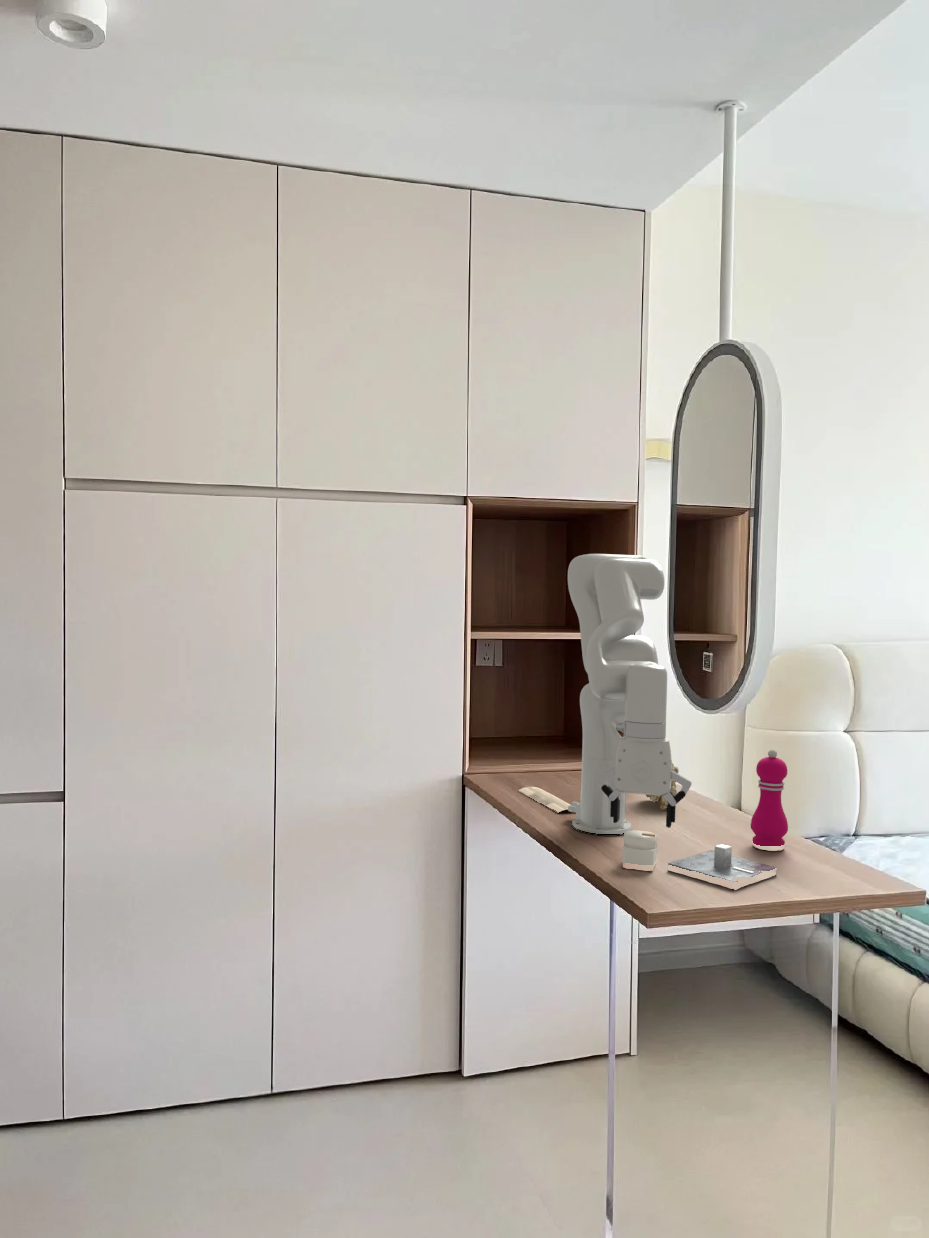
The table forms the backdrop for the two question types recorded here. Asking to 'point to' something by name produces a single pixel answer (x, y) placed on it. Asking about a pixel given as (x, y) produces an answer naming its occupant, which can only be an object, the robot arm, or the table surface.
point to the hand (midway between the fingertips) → (642, 823)
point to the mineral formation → (661, 797)
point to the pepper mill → (770, 802)
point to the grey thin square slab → (721, 864)
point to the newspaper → (545, 798)
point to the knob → (639, 847)
